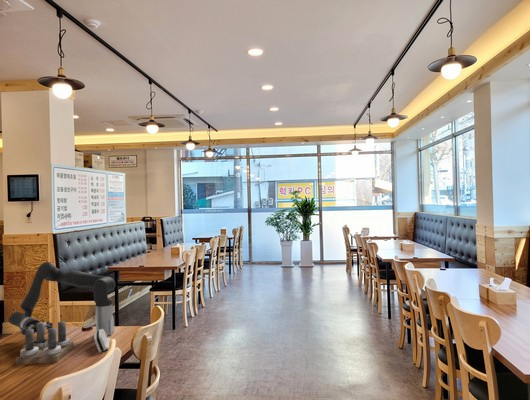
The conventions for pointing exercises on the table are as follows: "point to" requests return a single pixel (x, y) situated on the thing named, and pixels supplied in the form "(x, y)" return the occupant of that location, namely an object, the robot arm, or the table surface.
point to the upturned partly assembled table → (45, 346)
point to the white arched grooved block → (101, 340)
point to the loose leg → (40, 332)
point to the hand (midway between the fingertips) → (41, 330)
